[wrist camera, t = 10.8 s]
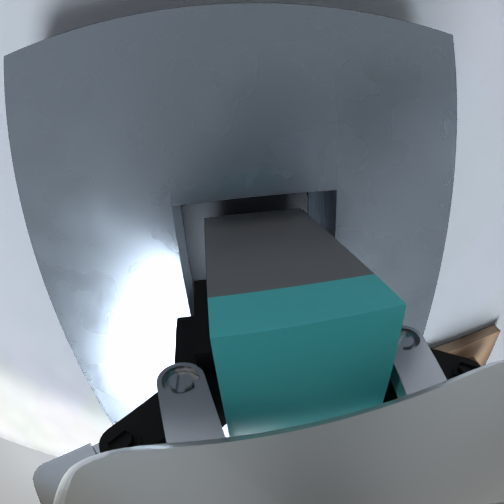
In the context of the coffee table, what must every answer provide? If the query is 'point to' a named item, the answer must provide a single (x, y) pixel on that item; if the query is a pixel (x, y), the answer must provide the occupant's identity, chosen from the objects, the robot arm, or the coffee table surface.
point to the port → (222, 159)
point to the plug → (294, 322)
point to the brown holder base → (473, 345)
